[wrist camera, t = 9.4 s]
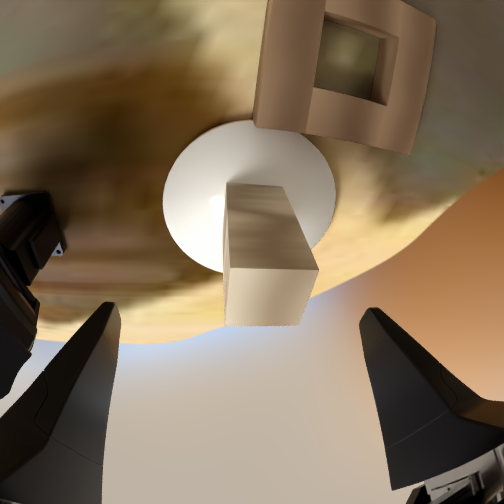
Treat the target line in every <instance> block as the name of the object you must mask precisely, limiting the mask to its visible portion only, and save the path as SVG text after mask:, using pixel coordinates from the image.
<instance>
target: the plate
mask: <svg viewBox="0 0 504 504" xmlns="http://www.w3.org/2000/svg"><path fill="white" fill-rule="evenodd" d="M226 183H241V184H256V185H269V186H280V187H283V189H284V191H285V193H286V195H287V197H288V200H289V202H290V204H291V206H292V208H293V211H294V213H295V215H296V217H297V220H298V222H299V224H300V226H301V229H302V231H303V233H304V235H305V238H306V240H307V242H308V245H309V247H310V249H312V248H313V247H314V246H315V245H316V244H317V243H318V242H319V241H320V239H321V238H322V236H323V235H324V234H325V232H326V230H327V228H328V226H329V224H330V222H331V219H332V216H333V213H334V208H335V201H336V190H335V182H334V178H333V174H332V172H331V169H330V167H329V165H328V163H327V161H326V159H325V158H324V156H323V155H322V154H321V152H320V151H319V150H318V149H317V148H316V147H315V146H314V145H313V144H312V143H311V142H310V141H309V140H308V139H307V138H306V137H304V136H303V135H301V134H300V133H297V132H290V131H282V130H273V129H264V128H256V127H255V125H254V123H253V120H251V119H248V120H238V121H233V122H229V123H225V124H222V125H219V126H217V127H214V128H212V129H210V130H208V131H206V132H205V133H203V134H201V135H200V136H198V137H197V138H196V139H194V140H193V141H192V142H191V143H190V144H189V145H188V146H187V147H186V148H185V149H184V150H183V151H182V152H181V154H180V155H179V156H178V158H177V159H176V161H175V163H174V164H173V166H172V168H171V170H170V172H169V175H168V178H167V181H166V184H165V188H164V194H163V210H164V217H165V221H166V224H167V227H168V229H169V231H170V233H171V235H172V237H173V239H174V240H175V242H176V243H177V244H178V246H179V247H180V248H181V249H182V250H183V251H184V252H185V253H186V254H187V255H188V256H189V257H191V258H192V259H194V260H195V261H196V262H198V263H200V264H202V265H203V266H205V267H208V268H210V269H213V270H215V271H219V272H222V273H223V243H222V228H223V214H224V202H225V190H226Z"/></svg>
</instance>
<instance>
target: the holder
mask: <svg viewBox="0 0 504 504" xmlns="http://www.w3.org/2000/svg"><path fill="white" fill-rule="evenodd" d="M324 20H326V21H330V22H334V23H337V24H340V25H344V26H347V27H350V28H353V29H356V30H359V31H362V32H365V33H368V34H370V35H373V36H376V37H378V38H380V45H379V52H378V58H377V64H376V70H375V75H374V81H373V86H372V91H371V96H370V100H366V99H363V98H359V97H355V96H352V95H348V94H344V93H340V92H335V91H331V90H327V89H322V88H317V87H314V80H315V74H316V68H317V62H318V55H319V49H320V42H321V35H322V28H323V21H324ZM435 31H436V20H435V19H433V18H432V17H430V16H428V15H427V14H425V13H423V12H421V11H420V10H418V9H416V8H414V7H412V6H410V5H408V4H406V3H404V2H402V1H400V0H268V2H267V9H266V16H265V23H264V31H263V38H262V46H261V53H260V61H259V68H258V76H257V84H256V92H255V100H254V108H253V117H252V120H253V123H254V125H255V127H256V128H264V129H273V130H282V131H290V132H297V133H304V134H311V135H317V136H323V137H329V138H335V139H340V140H345V141H350V142H355V143H360V144H364V145H369V146H373V147H378V148H382V149H386V150H390V151H394V152H397V153H401V154H405V155H408V156H410V154H411V151H412V147H413V144H414V140H415V136H416V133H417V129H418V125H419V121H420V117H421V113H422V108H423V104H424V99H425V95H426V90H427V85H428V79H429V74H430V68H431V62H432V55H433V48H434V40H435Z"/></svg>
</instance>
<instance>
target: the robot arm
mask: <svg viewBox="0 0 504 504" xmlns="http://www.w3.org/2000/svg"><path fill="white" fill-rule="evenodd" d="M44 196H45V198H46V199H45V198H44ZM0 206H1V209H2V212H3V213H2V214H1V215H0V399H2V398H3V397H4V396H6V395H7V394H8V393H9V392H10V390H11V387H12V385H13V382H14V379H15V377H16V375H17V373H18V372H19V370H20V368H21V367H22V366H23V364H24V363H25V362H26V361H27V360H28V359H29V358H30V357H31V355H32V354H31V352H30V351H31V349H32V347H33V344H34V340H35V338H36V334H37V328H36V326H37V319H38V313H39V307H40V302H39V301H38V300H37V298H35V297H34V296H33V294H32V293H31V292H30V290H29V289H28V287H27V286H30V285H31V283H32V282H33V280H34V278H35V277H36V275H37V273H38V272H39V270H42V269H43V268H44V266H45V264H46V263H47V261H48V259H49V258H50V256H62V255H63V254H64V251H65V250H64V247H63V243H62V240H61V236H60V232H59V229H58V225H57V222H56V218H55V215H54V211H53V207H52V202H51V198H50V194H49V193H48V192H47V191H36V192H25V193H14V194H5V195H2V196H1V197H0ZM59 250H60V251H59ZM120 329H121V317H120V314H119V310H118V307H117V304H116V303H115V302H104V303H102V305H101V306H100V307H99V308H98V309H97V310H96V311H95V312H94V313H93V314H92V315H91V316H90V317H89V318H88V320H87V321H86V322H85V323H84V324H83V325H82V326H81V327H80V328H79V329H78V331H77V332H76V333H75V334H74V335H73V336H72V337H71V338H70V340H69V341H68V342H67V343H66V344H65V345H64V346H63V348H62V349H61V350H60V351H59V352H58V353H57V355H56V356H55V357H54V358H53V359H52V360H51V362H50V363H49V364H48V365H47V366H46V368H45V369H44V371H42V373H41V374H40V375H39V376H38V377H37V379H36V380H35V381H34V382H33V383H32V385H31V386H30V387H29V388H28V389H27V390H26V391H25V392H24V393H23V395H22V396H21V397H20V398H19V399H18V400H17V401H16V402H15V403H14V404H13V405H12V406H11V407H10V408H9V409H8V410H7V412H6V413H5V414H4V415H3V416H2V417H1V418H0V504H102V503H101V502H102V474H103V458H104V447H105V438H106V429H107V421H108V414H109V407H110V401H111V394H112V389H113V383H114V377H115V371H116V367H117V359H118V347H119V338H120ZM359 329H360V334H361V339H362V346H363V351H364V358H365V362H366V367H367V370H368V374H369V378H370V382H371V386H372V390H373V394H374V399H375V403H376V407H377V412H378V416H379V421H380V426H381V431H382V436H383V441H384V445H385V452H386V458H387V464H388V470H389V476H390V483H391V488H392V490H397V489H400V488H403V487H407V486H410V485H413V484H416V483H419V482H422V481H424V484H423V485H421V486H419V487H417V488H415V489H413V491H412V493H411V495H410V497H409V498H408V500H407V503H406V504H504V402H502V401H492V400H486V399H484V398H481V397H480V396H479V395H477V394H476V393H475V392H473V391H472V390H471V389H470V388H469V387H467V386H466V385H465V384H464V383H462V382H461V381H460V380H459V379H458V378H456V377H455V376H454V375H453V374H452V373H451V372H449V371H448V370H447V369H446V368H445V367H444V366H443V365H442V364H441V363H439V361H438V360H436V359H435V358H434V357H433V356H432V355H431V354H430V353H429V352H428V351H427V350H426V349H425V348H424V347H422V346H421V345H420V344H419V343H418V342H417V341H416V340H415V339H414V338H412V337H411V336H410V335H409V334H408V333H407V332H406V331H405V330H403V329H402V328H401V327H400V326H399V325H398V324H397V323H396V322H394V321H393V320H392V319H391V318H390V317H389V316H387V315H386V314H385V313H384V312H383V311H382V310H381V309H379V308H378V307H370V308H368V309H367V310H366V312H365V314H364V315H363V317H362V318H361V320H360V323H359Z"/></svg>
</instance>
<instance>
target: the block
mask: <svg viewBox="0 0 504 504" xmlns="http://www.w3.org/2000/svg"><path fill="white" fill-rule="evenodd" d="M222 243H223V282H224V311H225V326H287V325H288V326H290V325H299V324H300V321H301V318H302V316H303V313H304V311H305V308H306V305H307V302H308V300H309V297H310V295H311V292H312V289H313V286H314V283H315V281H316V278H317V275H318V272H319V268H318V266H317V264H316V261H315V259H314V256H313V254H312V252H311V249H310V247H309V245H308V242H307V240H306V238H305V235H304V233H303V231H302V229H301V226H300V224H299V222H298V220H297V217H296V215H295V213H294V211H293V208H292V206H291V204H290V202H289V200H288V197H287V195H286V193H285V191H284V189H283V187H280V186H269V185H256V184H241V183H226V190H225V202H224V214H223V228H222Z"/></svg>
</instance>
